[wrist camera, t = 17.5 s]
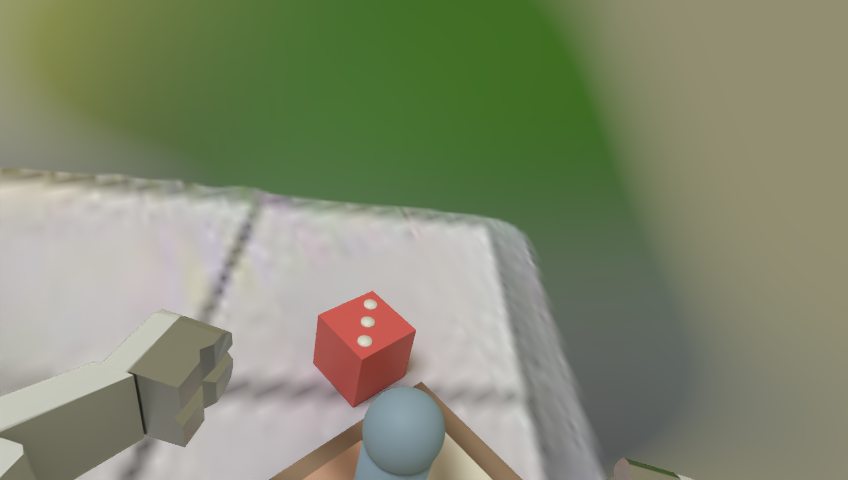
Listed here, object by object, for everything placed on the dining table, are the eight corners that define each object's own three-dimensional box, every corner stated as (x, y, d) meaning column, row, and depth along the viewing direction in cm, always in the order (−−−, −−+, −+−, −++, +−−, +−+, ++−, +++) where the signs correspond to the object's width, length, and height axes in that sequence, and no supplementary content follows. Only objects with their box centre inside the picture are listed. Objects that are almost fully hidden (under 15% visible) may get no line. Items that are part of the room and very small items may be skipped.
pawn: (370, 583, 33) (407, 469, 26) (320, 512, 36) (340, 391, 28) (433, 527, 36) (481, 414, 29) (382, 467, 39) (414, 350, 32)
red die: (353, 407, 45) (362, 358, 41) (313, 362, 48) (318, 313, 44) (404, 376, 49) (416, 328, 45) (364, 336, 52) (372, 289, 48)
